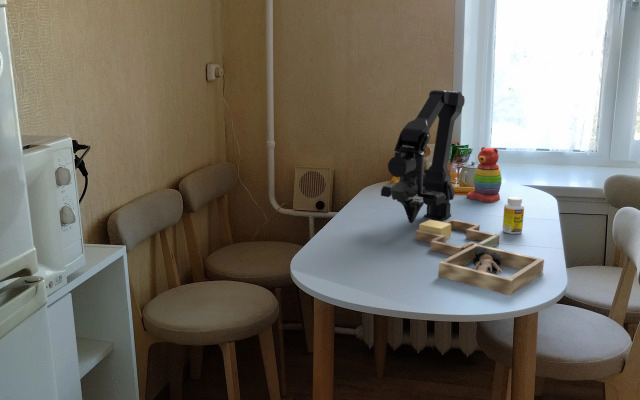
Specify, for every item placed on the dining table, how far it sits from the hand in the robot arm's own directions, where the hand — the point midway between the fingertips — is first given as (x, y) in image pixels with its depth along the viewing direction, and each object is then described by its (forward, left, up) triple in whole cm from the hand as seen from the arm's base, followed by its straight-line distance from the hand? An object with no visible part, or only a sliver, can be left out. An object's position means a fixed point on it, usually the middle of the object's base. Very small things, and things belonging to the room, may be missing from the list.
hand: (411, 222), depth 198 cm
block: (+8, 0, -3) cm, 8 cm away
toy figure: (+33, -18, -3) cm, 37 cm away
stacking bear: (-1, +49, -3) cm, 49 cm away
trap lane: (+15, 0, -2) cm, 15 cm away
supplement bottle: (+23, +18, -3) cm, 30 cm away
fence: (+34, -18, -2) cm, 38 cm away
